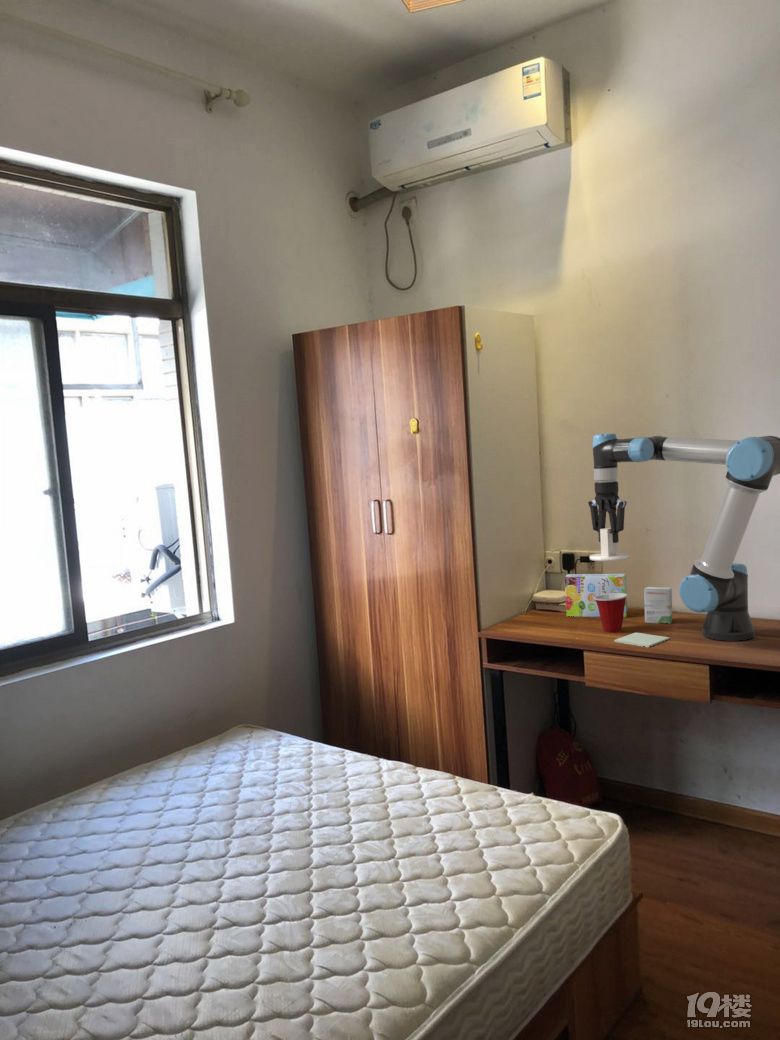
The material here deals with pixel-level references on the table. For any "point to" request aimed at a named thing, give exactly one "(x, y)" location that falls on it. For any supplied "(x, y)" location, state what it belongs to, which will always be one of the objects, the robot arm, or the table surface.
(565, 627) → the table surface
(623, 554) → the lid
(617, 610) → the plastic cup
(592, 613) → the snack box
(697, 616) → the table surface
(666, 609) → the ink box
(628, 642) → the mat
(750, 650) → the table surface
